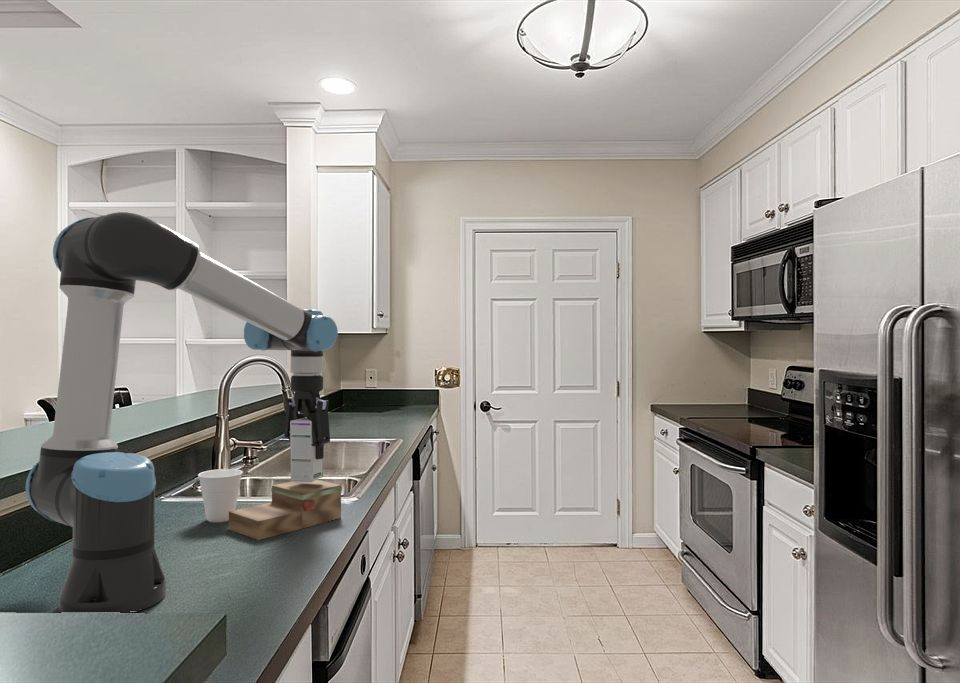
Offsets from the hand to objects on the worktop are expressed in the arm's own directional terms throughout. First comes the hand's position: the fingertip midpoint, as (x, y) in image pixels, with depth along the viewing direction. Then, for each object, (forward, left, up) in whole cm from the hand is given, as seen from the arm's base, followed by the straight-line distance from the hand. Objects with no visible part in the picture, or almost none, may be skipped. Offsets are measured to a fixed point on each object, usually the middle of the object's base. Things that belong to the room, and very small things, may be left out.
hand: (306, 470), depth 155 cm
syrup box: (0, 0, -2) cm, 2 cm away
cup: (-13, +15, -12) cm, 23 cm away
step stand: (-5, 0, -12) cm, 13 cm away
